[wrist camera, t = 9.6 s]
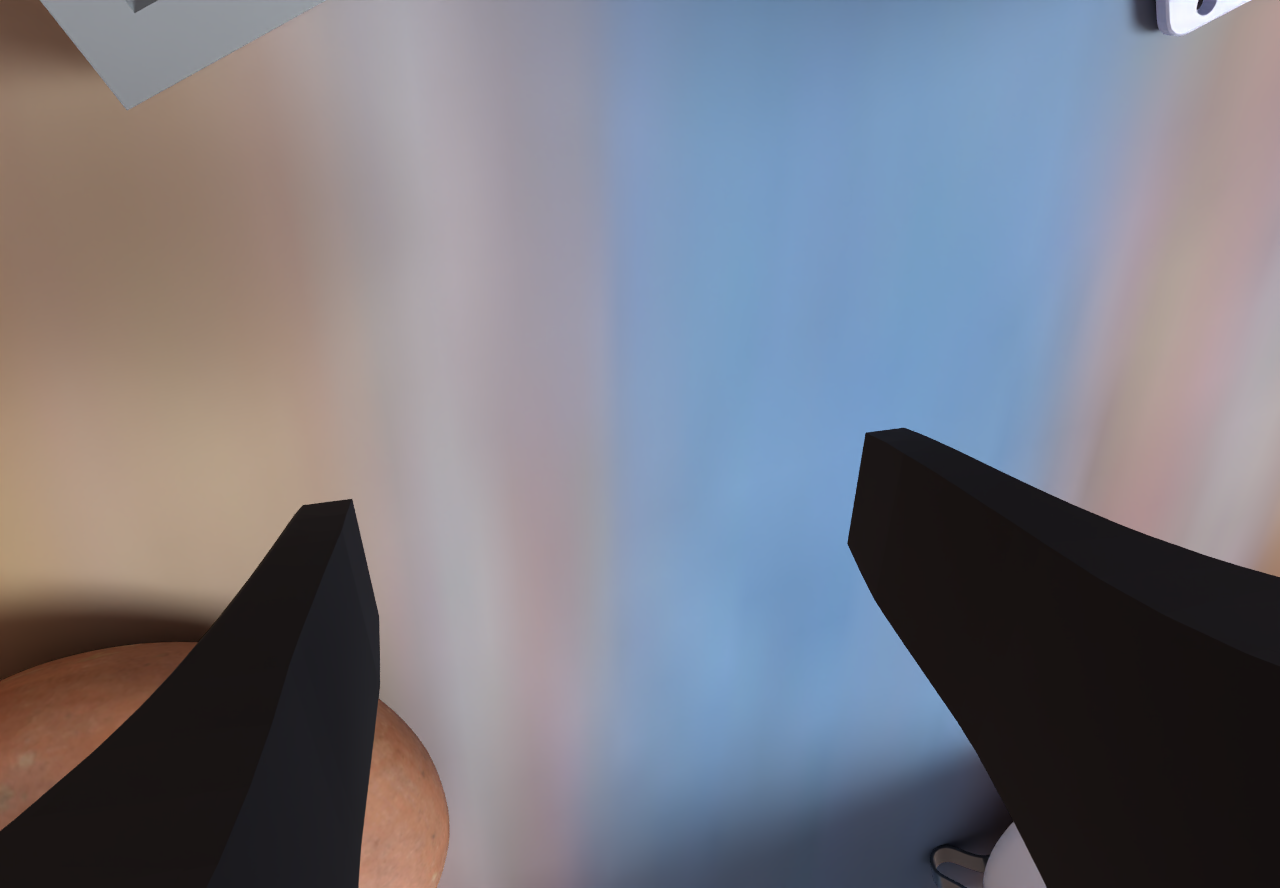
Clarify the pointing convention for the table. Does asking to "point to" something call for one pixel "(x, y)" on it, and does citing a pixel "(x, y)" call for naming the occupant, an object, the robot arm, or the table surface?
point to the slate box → (164, 36)
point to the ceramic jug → (128, 675)
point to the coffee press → (992, 864)
